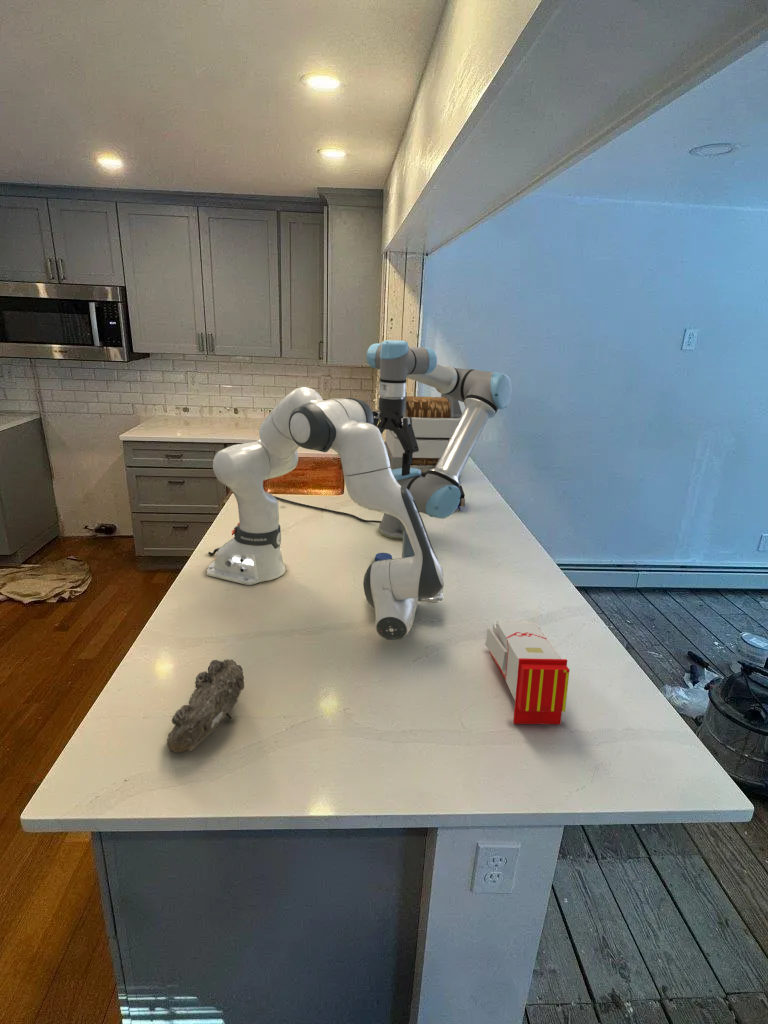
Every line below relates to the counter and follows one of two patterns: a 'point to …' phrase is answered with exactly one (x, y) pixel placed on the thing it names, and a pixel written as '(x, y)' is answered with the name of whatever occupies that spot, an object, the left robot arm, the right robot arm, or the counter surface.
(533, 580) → the counter surface
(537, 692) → the toy
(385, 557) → the lid
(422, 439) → the transformer
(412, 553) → the grey long cylinder
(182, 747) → the fossil
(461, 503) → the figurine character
